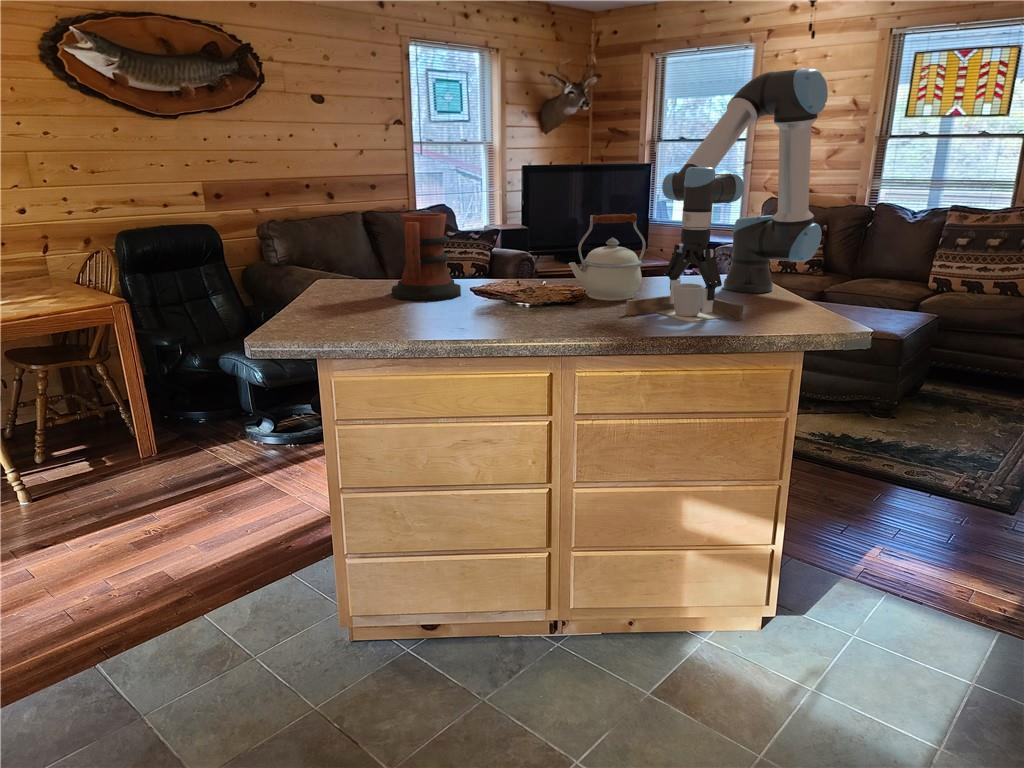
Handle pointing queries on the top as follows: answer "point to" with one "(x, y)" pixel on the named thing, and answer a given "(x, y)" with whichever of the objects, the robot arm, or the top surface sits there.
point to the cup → (688, 299)
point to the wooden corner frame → (666, 308)
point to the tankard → (425, 261)
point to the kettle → (610, 265)
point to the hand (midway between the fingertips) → (690, 307)
